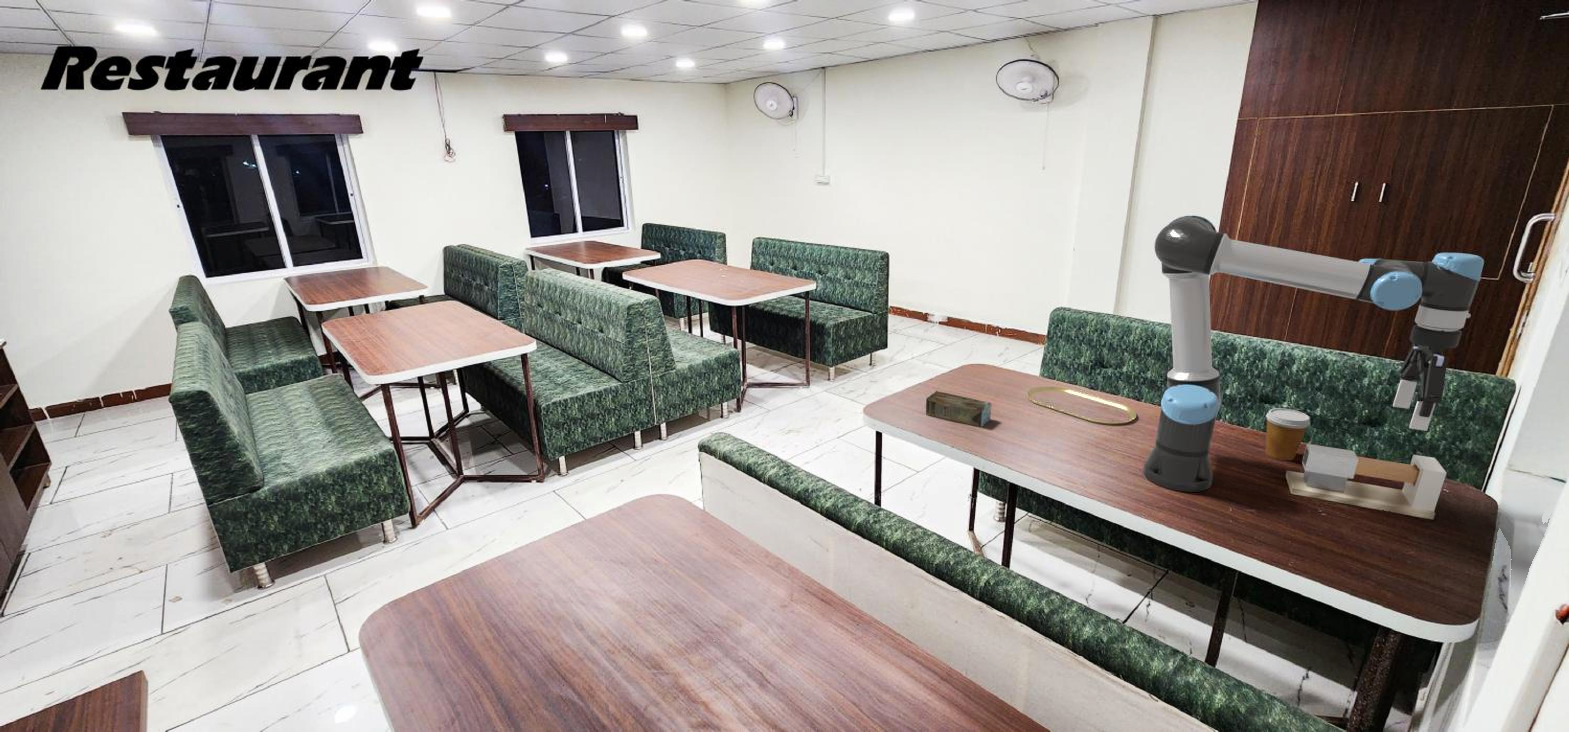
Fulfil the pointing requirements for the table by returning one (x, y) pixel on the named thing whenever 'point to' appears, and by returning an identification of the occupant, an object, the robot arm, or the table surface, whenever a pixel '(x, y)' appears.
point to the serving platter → (1087, 396)
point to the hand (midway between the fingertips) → (1408, 417)
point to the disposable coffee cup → (1285, 432)
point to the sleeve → (1328, 467)
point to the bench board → (1359, 496)
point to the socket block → (1425, 484)
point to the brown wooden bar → (1387, 470)
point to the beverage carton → (958, 408)
